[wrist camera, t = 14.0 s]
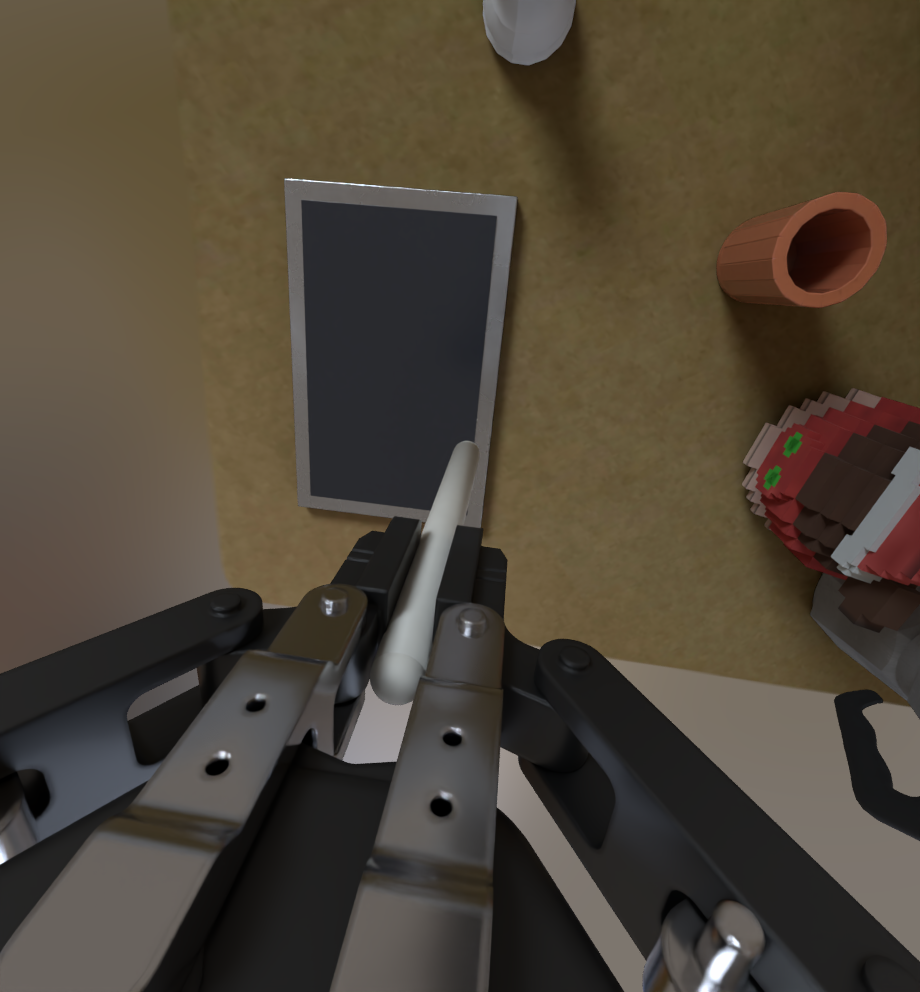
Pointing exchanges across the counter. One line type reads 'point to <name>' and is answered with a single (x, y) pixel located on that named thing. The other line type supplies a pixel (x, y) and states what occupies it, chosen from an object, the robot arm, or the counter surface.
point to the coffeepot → (873, 701)
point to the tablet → (393, 340)
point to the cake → (847, 498)
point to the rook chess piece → (527, 27)
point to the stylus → (423, 586)
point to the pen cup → (804, 252)
